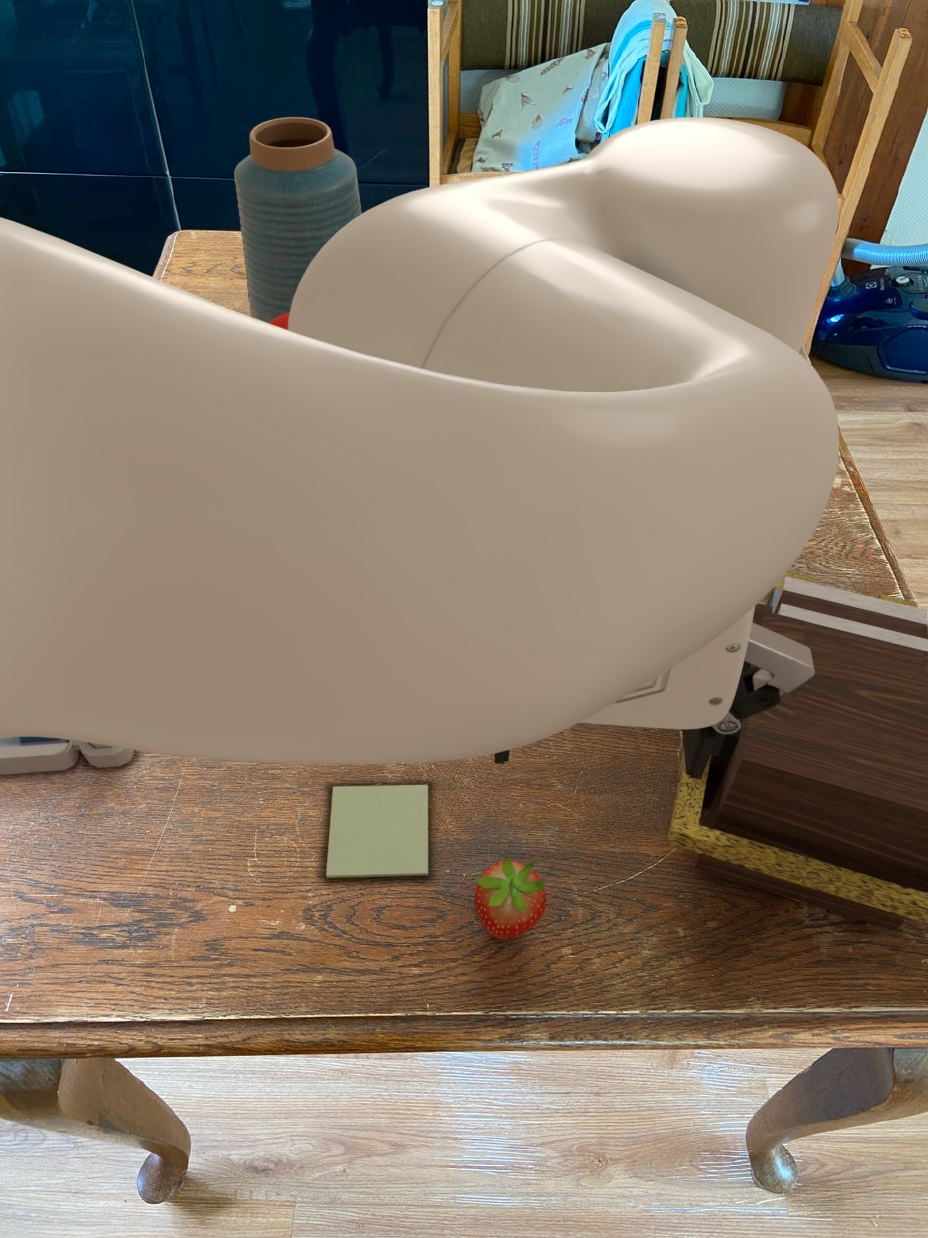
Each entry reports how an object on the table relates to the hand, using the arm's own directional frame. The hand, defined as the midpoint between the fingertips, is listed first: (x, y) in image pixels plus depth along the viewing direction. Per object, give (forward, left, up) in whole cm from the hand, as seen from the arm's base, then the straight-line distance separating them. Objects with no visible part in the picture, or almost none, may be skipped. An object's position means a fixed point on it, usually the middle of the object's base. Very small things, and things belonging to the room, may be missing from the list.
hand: (596, 746), depth 47 cm
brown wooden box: (+29, -28, -21) cm, 46 cm away
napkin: (+10, +13, -28) cm, 32 cm away
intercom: (+42, +43, -25) cm, 65 cm away
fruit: (+2, +3, -28) cm, 28 cm away
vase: (+81, +24, -28) cm, 89 cm away
